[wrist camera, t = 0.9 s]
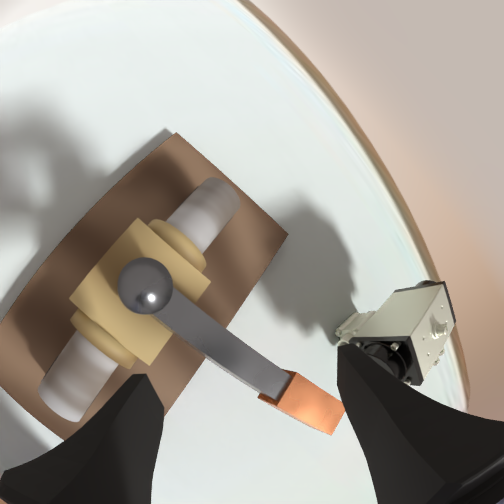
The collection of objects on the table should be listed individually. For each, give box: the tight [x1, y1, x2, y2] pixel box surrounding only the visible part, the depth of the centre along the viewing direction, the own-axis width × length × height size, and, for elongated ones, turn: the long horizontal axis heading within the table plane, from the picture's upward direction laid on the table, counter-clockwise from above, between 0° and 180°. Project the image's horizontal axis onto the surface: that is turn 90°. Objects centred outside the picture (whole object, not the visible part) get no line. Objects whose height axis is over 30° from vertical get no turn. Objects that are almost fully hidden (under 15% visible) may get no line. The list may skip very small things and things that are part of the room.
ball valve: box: [0, 132, 288, 441], centre depth 17 cm, size 26×14×7 cm, turn 142°
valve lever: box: [118, 257, 345, 435], centre depth 14 cm, size 15×3×2 cm, turn 52°
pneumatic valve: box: [335, 280, 456, 386], centre depth 24 cm, size 6×12×12 cm, turn 119°
